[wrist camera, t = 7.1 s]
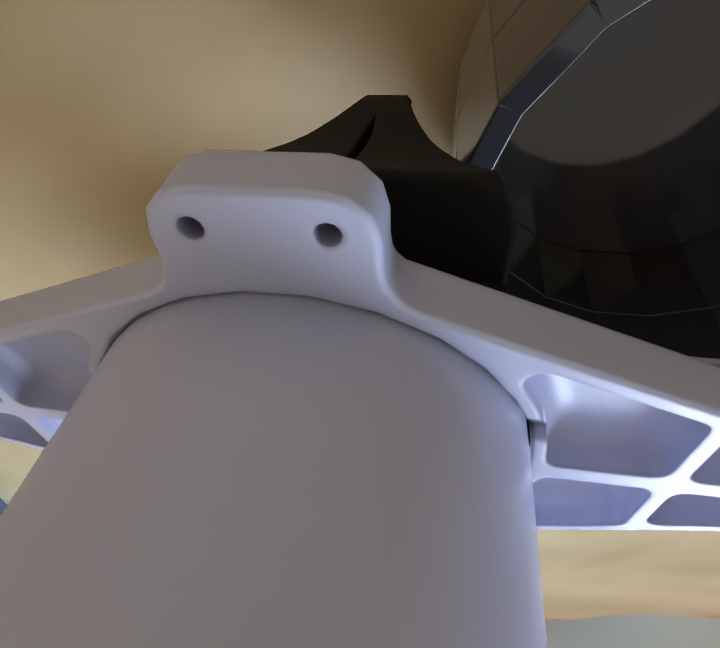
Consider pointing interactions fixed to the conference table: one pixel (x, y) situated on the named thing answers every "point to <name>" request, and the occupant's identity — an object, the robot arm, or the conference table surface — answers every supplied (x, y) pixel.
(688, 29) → the pot
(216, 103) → the conference table surface
